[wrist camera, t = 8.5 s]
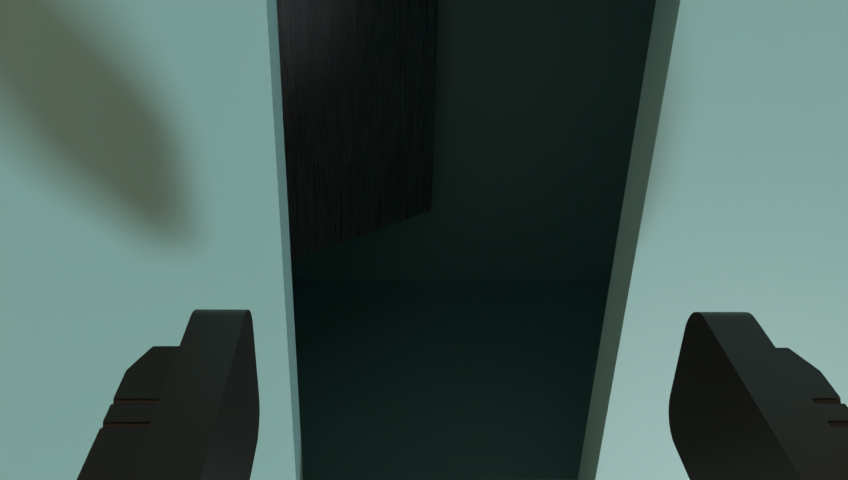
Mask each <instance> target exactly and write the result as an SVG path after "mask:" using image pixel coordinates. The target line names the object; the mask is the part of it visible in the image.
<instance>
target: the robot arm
mask: <svg viewBox="0 0 848 480" xmlns="http://www.w3.org/2000/svg"><path fill="white" fill-rule="evenodd" d="M668 412H669V426H670V432H671V436H672V440H673V442H674V445H675V447H676V450H677V452H678V454H679V456H680V459H681V461H682V463H683V465H684V468H685V470H686V472H687V475H688V477H689V479H690V480H848V407H847V406H846V404H841V398H840V396H839V395H838V394H837V392H836V391H835V390H834V388H833V387H832V386H831V384H830V383H829V382H828V380H827V379H826V378H825V376H824V375H823V374H822V372H821V371H820V370H818V369H817V368H816V367H814V366H813V365H811V364H810V363H809V362H807V361H806V360H805V359H803V358H802V357H800V356H799V355H798V354H796V353H795V352H793V351H792V350H791V349H789V348H776V347H775V346H774V344H773V343H772V342H771V340H770V339H769V337H768V336H767V334H766V333H765V332H764V330H763V329H762V327H761V326H760V324H759V323H758V322H757V320H756V319H755V318H754V316H753V315H752V314H750V313H748V312H694V313H692V314H691V315H690V317H689V318H688V320H687V323H686V326H685V331H684V335H683V340H682V344H681V349H680V353H679V358H678V362H677V367H676V371H675V376H674V380H673V385H672V389H671V394H670V399H669V411H668ZM259 415H260V404H259V389H258V377H257V366H256V354H255V342H254V331H253V321H252V315H251V312H250V310H238V309H195V310H194V311H193V312H192V314H191V316H190V319H189V322H188V324H187V327H186V330H185V332H184V335H183V338H182V340H181V343H180V346H153V347H151V348H150V349H149V350H148V351H147V352H146V353H145V354H144V355H143V356H141V357H140V358H139V359H138V360H137V361H136V362H135V363H134V364H133V365H131V366H130V367H129V368H128V369H127V370H126V372H125V374H124V376H123V378H122V381H121V383H120V385H119V387H118V389H117V392H116V394H115V396H114V398H113V404H111V405H110V407H109V409H108V411H107V414H106V416H105V418H104V420H103V427H102V428H100V429H99V431H98V434H97V436H96V438H95V440H94V442H93V445H92V447H91V449H90V451H89V453H88V456H87V458H86V460H85V462H84V465H83V467H82V469H81V471H80V473H79V476H78V478H77V480H250V477H251V472H252V467H253V462H254V457H255V452H256V446H257V441H258V432H259Z"/></svg>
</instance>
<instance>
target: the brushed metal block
mask: <svg viewBox="0 0 848 480" xmlns="http://www.w3.org/2000/svg"><path fill="white" fill-rule="evenodd" d="M438 3H439V0H276V4H277V21H278V39H279V57H280V75H281V93H282V111H283V128H284V146H285V164H286V182H287V200H288V217H289V235H290V253H291V261H293V260H295V259H298V258H301V257H304V256H306V255H309V254H312V253H315V252H317V251H320V250H323V249H326V248H328V247H331V246H334V245H337V244H339V243H342V242H345V241H348V240H351V239H353V238H356V237H359V236H362V235H364V234H367V233H370V232H373V231H375V230H378V229H381V228H384V227H386V226H389V225H392V224H395V223H397V222H400V221H403V220H406V219H408V218H411V217H414V216H417V215H419V214H422V213H425V212H428V211H431V210H432V184H433V153H434V123H435V93H436V63H437V33H438Z"/></svg>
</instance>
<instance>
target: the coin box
mask: <svg viewBox="0 0 848 480" xmlns="http://www.w3.org/2000/svg"><path fill="white" fill-rule="evenodd" d="M195 309H238V310H250V312H251V315H252V321H253V331H254V342H255V354H256V366H257V377H258V389H259V404H260V415H259V432H258V441H257V446H256V452H255V457H254V462H253V467H252V472H251V477H250V480H690V479H689V477H688V475H687V472H686V470H685V468H684V465H683V463H682V461H681V459H680V456H679V454H678V452H677V450H676V447H675V445H674V442H673V440H672V436H671V432H670V426H669V412H668V411H669V399H670V394H671V389H672V385H673V380H674V376H675V371H676V367H677V362H678V358H679V353H680V349H681V344H682V340H683V335H684V331H685V326H686V323H687V320H688V318H689V317H690V315H691V314H692V313H694V312H748V313H750V314H752V315H753V316H754V318H755V319H756V320H757V322H758V323H759V324H760V326H761V327H762V329H763V330H764V332H765V333H766V334H767V336H768V337H769V339H770V340H771V342H772V343H773V344H774V346H775V347H776V348H789V349H791V350H792V351H793V352H795V353H796V354H798V355H799V356H800V357H802V358H803V359H805V360H806V361H807V362H809V363H810V364H811V365H813V366H814V367H816V368H817V369H818V370H820V371H821V372H822V374H823V375H824V376H825V378H826V379H827V380H828V382H829V383H830V384H831V386H832V387H833V388H834V390H835V391H836V392H837V394H838V395H839V396H840V398H841V404H846V406H847V407H848V0H439V3H438V33H437V63H436V93H435V123H434V153H433V184H432V210H431V211H428V212H425V213H422V214H419V215H417V216H414V217H411V218H408V219H406V220H403V221H400V222H397V223H395V224H392V225H389V226H386V227H384V228H381V229H378V230H375V231H373V232H370V233H367V234H364V235H362V236H359V237H356V238H353V239H351V240H348V241H345V242H342V243H339V244H337V245H334V246H331V247H328V248H326V249H323V250H320V251H317V252H315V253H312V254H309V255H306V256H304V257H301V258H298V259H295V260H293V261H291V253H290V235H289V217H288V200H287V182H286V164H285V146H284V128H283V111H282V93H281V75H280V57H279V39H278V21H277V4H276V0H0V480H77V478H78V476H79V473H80V471H81V469H82V467H83V465H84V462H85V460H86V458H87V456H88V453H89V451H90V449H91V447H92V445H93V442H94V440H95V438H96V436H97V434H98V431H99V429H100V428H102V427H103V420H104V418H105V416H106V414H107V411H108V409H109V407H110V405H111V404H113V398H114V396H115V394H116V392H117V389H118V387H119V385H120V383H121V381H122V378H123V376H124V374H125V372H126V370H127V369H128V368H129V367H130V366H131V365H133V364H134V363H135V362H136V361H137V360H138V359H139V358H140V357H141V356H143V355H144V354H145V353H146V352H147V351H148V350H149V349H150V348H151V347H153V346H180V343H181V340H182V338H183V335H184V332H185V330H186V327H187V324H188V322H189V319H190V316H191V314H192V312H193V311H194V310H195Z"/></svg>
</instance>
